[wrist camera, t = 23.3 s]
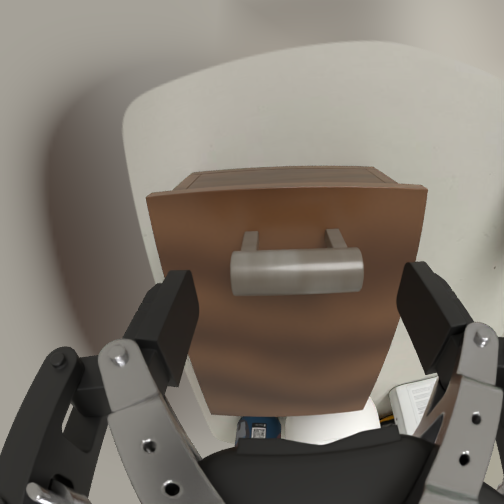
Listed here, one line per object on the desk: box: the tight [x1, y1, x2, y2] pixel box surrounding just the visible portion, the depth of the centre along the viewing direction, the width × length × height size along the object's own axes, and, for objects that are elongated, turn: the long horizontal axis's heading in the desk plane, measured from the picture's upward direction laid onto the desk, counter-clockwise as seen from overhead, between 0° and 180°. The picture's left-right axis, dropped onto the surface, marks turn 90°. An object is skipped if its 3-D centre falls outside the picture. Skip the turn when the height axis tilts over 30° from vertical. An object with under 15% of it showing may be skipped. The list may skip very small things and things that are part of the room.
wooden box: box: [172, 166, 398, 191], centre depth 22 cm, size 20×14×8 cm
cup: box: [285, 396, 381, 445], centre depth 30 cm, size 12×12×10 cm
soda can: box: [235, 416, 281, 447], centre depth 34 cm, size 7×7×12 cm
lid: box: [146, 182, 428, 417], centre depth 16 cm, size 21×14×5 cm
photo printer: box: [389, 377, 438, 435], centre depth 29 cm, size 10×4×12 cm, turn 97°
